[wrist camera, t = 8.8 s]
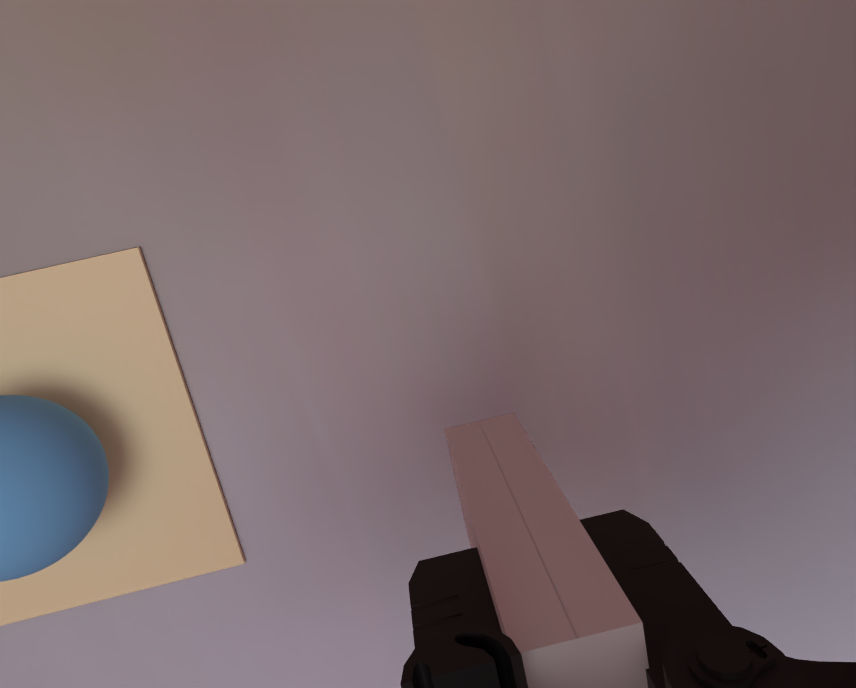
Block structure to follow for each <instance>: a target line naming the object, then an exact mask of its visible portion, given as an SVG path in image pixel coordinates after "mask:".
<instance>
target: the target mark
mask: <svg viewBox="0 0 856 688" xmlns="http://www.w3.org/2000/svg"><path fill="white" fill-rule="evenodd" d="M0 395H24V396H32V397H37V398H42V399H45V400H49V401H52V402H54V403H57V404H59V405H61V406H63V407H65V408H67V409H68V410H70V411H72V412H73V413H75V414H76V415H78V416H79V417H80V418H81V419H83V420H84V421H85V422H86V423H87V424H88V425H89V426H90V427H91V429H92V430H93V431H94V433H95V434H96V436H97V437H98V439H99V441H100V443H101V445H102V447H103V449H104V451H105V454H106V458H107V462H108V469H109V486H108V492H107V497H106V501H105V504H104V507H103V509H102V511H101V514H100V516H99V518H98V519H97V521H96V523H95V524H94V526H93V528H92V529H91V530H90V532H89V533H88V534H87V536H86V537H85V538H84V539H83V540H82V541H81V542H80V543H79V544H78V546H77V547H76V548H74V549H73V550H72V551H71V552H70V553H68V554H67V555H66V556H65V557H63V558H62V559H60V560H59V561H57V562H56V563H54V564H52V565H50V566H48V567H47V568H45V569H43V570H40V571H38V572H36V573H33V574H31V575H28V576H24V577H21V578H18V579H13V580H8V581H2V582H0V626H2V625H5V624H9V623H13V622H17V621H21V620H25V619H29V618H33V617H37V616H41V615H45V614H49V613H53V612H57V611H60V610H64V609H68V608H72V607H76V606H80V605H84V604H88V603H92V602H96V601H100V600H104V599H108V598H112V597H115V596H119V595H123V594H127V593H131V592H135V591H139V590H143V589H147V588H151V587H155V586H159V585H163V584H167V583H170V582H174V581H178V580H182V579H186V578H190V577H194V576H198V575H202V574H206V573H210V572H214V571H218V570H222V569H225V568H229V567H233V566H237V565H241V564H245V558H244V555H243V552H242V549H241V546H240V543H239V540H238V537H237V534H236V531H235V528H234V525H233V522H232V519H231V516H230V513H229V510H228V507H227V504H226V501H225V498H224V495H223V492H222V489H221V486H220V483H219V480H218V477H217V474H216V472H215V469H214V466H213V463H212V460H211V457H210V454H209V451H208V448H207V445H206V442H205V439H204V436H203V433H202V430H201V427H200V424H199V421H198V418H197V415H196V412H195V409H194V406H193V403H192V400H191V397H190V394H189V391H188V388H187V385H186V382H185V379H184V376H183V373H182V370H181V367H180V364H179V361H178V359H177V356H176V353H175V350H174V347H173V344H172V341H171V338H170V335H169V332H168V329H167V326H166V323H165V320H164V317H163V314H162V311H161V308H160V305H159V302H158V299H157V296H156V293H155V290H154V287H153V284H152V281H151V278H150V275H149V272H148V269H147V266H146V263H145V260H144V257H143V254H142V251H141V249H140V247H137V248H132V249H128V250H123V251H119V252H115V253H110V254H106V255H101V256H97V257H92V258H88V259H83V260H79V261H74V262H70V263H65V264H61V265H56V266H52V267H47V268H43V269H38V270H34V271H29V272H25V273H20V274H16V275H11V276H7V277H2V278H0Z"/></svg>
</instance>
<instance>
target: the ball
mask: <svg viewBox="0 0 856 688" xmlns="http://www.w3.org/2000/svg"><path fill="white" fill-rule="evenodd" d="M108 486H109V469H108V462H107V458H106V454H105V451H104V449H103V447H102V445H101V443H100V441H99V439H98V437H97V436H96V434H95V433H94V431H93V430H92V429H91V427H90V426H89V425H88V424H87V423H86V422H85V421H84V420H83V419H81V418H80V417H79V416H78V415H76V414H75V413H73V412H72V411H70V410H68V409H67V408H65V407H63V406H61V405H59V404H57V403H54V402H52V401H49V400H45V399H42V398H37V397H32V396H24V395H0V582H2V581H8V580H13V579H18V578H21V577H24V576H28V575H31V574H33V573H36V572H38V571H40V570H43V569H45V568H47V567H48V566H50V565H52V564H54V563H56V562H57V561H59V560H60V559H62V558H63V557H65V556H66V555H67V554H68V553H70V552H71V551H72V550H73V549H74V548H76V547H77V546H78V544H79V543H80V542H81V541H82V540H83V539H84V538H85V537H86V536H87V534H88V533H89V532H90V530H91V529H92V528H93V526H94V524H95V523H96V521H97V519H98V518H99V516H100V514H101V511H102V509H103V507H104V504H105V501H106V497H107V492H108Z"/></svg>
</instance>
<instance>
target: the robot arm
mask: <svg viewBox="0 0 856 688" xmlns="http://www.w3.org/2000/svg"><path fill="white" fill-rule="evenodd" d="M445 434H446V438H447V443H448V447H449V452H450V456H451V461H452V465H453V470H454V474H455V479H456V483H457V488H458V492H459V497H460V501H461V506H462V510H463V515H464V519H465V524H466V528H467V533H468V537H469V541H470V545H471V549H467V550H463V551H459V552H455V553H450V554H446V555H442V556H438V557H434V558H430V559H426V560H422V561H419V562H418V564H417V566H416V568H415V571H414V573H413V575H412V577H411V579H410V581H409V593H410V603H411V609H412V611H411V613H412V624H413V629H414V630H413V634H414V644H415V650H414V651H413V653H412V654H411V656H410V657H409V659H408V660H407V662H406V663H405V665H404V668H403V674H402V680H401V687H402V688H856V662H818V661H808V660H798V659H794V658H790V657H786V656H785V655H784V654H783V653H782V652H781V651H780V650H779V649H778V648H776V647H775V646H774V645H773V644H772V643H770V642H769V641H768V640H767V639H765V638H764V637H762V636H760V635H758V634H755V633H753V632H751V631H748V630H746V629H744V628H742V627H735V626H732V625H731V624H730V622H729V621H728V620H727V619H726V617H725V616H724V615H723V614H722V613H721V611H720V610H719V609H718V608H717V606H716V605H715V604H714V603H713V602H712V600H711V599H710V598H709V597H708V595H707V594H706V593H705V592H704V590H703V589H702V588H701V587H700V586H699V584H698V583H697V582H696V581H695V579H694V578H693V577H692V576H691V574H690V573H689V572H688V571H687V570H686V568H685V567H684V566H683V565H682V563H681V562H678V560H677V557H676V556H675V555H674V554H673V552H672V551H671V550H670V549H669V547H668V546H665V544H664V541H663V540H662V539H661V538H660V536H659V535H658V534H657V533H656V532H655V530H654V529H653V528H652V527H651V525H650V524H649V523H648V522H646V521H644V520H642V519H640V518H638V517H637V516H635V515H633V514H631V513H629V512H627V511H625V510H619V511H615V512H611V513H607V514H602V515H598V516H594V517H590V518H586V519H582V520H579V519H578V517H577V516H576V514H575V512H574V511H573V509H572V507H571V506H570V504H569V503H568V501H567V499H566V498H565V496H564V495H563V493H562V491H561V490H560V488H559V486H558V485H557V483H556V482H555V480H554V478H553V477H552V475H551V473H550V472H549V470H548V469H547V467H546V465H545V464H544V462H543V461H542V459H541V457H540V456H539V454H538V452H537V451H536V449H535V448H534V446H533V444H532V443H531V441H530V439H529V438H528V436H527V435H526V433H525V431H524V430H523V428H522V427H521V425H520V423H519V422H518V420H517V418H516V417H515V415H514V414H513V413H511V414H507V415H503V416H498V417H494V418H490V419H486V420H481V421H477V422H473V423H468V424H464V425H460V426H456V427H451V428H447V429H445Z"/></svg>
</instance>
